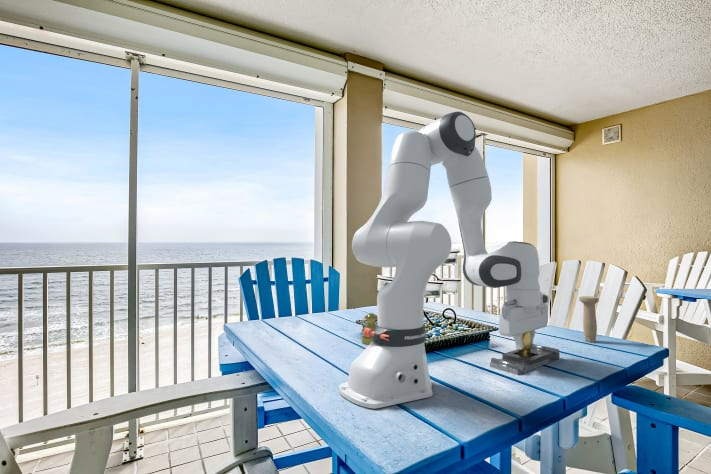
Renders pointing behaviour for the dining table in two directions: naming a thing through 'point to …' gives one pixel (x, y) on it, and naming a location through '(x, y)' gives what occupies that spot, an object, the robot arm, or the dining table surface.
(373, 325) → the olive green upright figure
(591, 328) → the handle
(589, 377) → the dining table surface
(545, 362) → the gray stepped fixture plate
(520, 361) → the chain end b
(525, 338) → the brass pin
